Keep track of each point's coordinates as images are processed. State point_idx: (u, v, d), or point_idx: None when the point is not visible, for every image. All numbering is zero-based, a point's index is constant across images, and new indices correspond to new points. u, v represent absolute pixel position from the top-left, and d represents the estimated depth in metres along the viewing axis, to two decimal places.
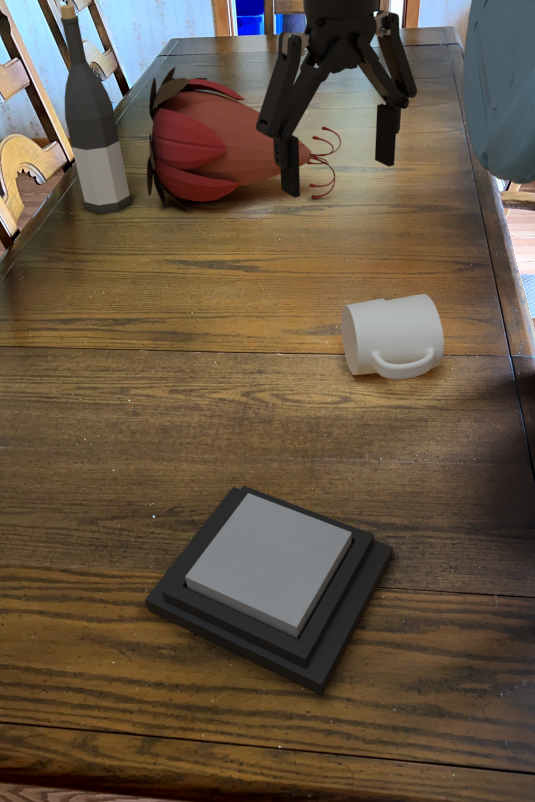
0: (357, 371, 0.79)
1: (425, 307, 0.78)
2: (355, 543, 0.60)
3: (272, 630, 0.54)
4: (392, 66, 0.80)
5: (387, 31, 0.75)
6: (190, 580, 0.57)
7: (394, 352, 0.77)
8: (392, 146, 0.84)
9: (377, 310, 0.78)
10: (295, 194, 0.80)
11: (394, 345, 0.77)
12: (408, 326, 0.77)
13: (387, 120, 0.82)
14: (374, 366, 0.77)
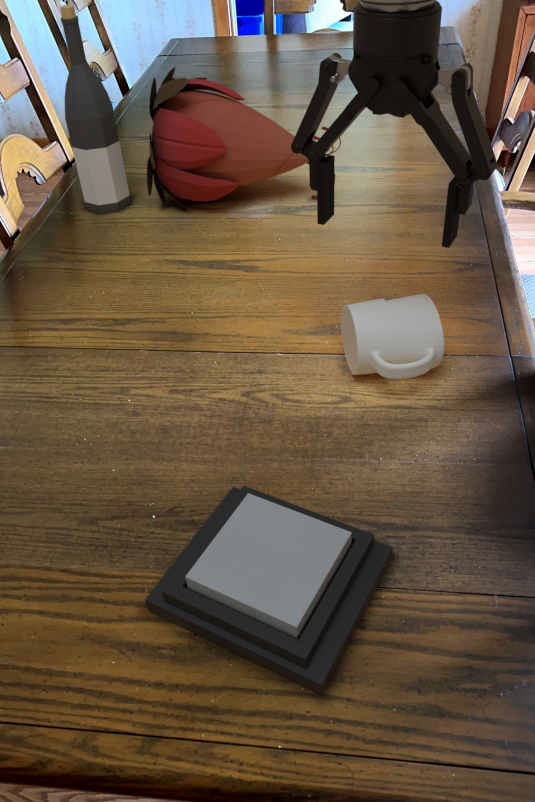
0: (357, 371, 0.79)
1: (425, 306, 0.78)
2: (355, 543, 0.60)
3: (272, 630, 0.54)
4: None
5: (447, 88, 0.62)
6: (190, 580, 0.57)
7: (394, 352, 0.77)
8: (447, 225, 0.69)
9: (377, 310, 0.78)
10: (318, 221, 0.76)
11: (394, 345, 0.77)
12: (408, 326, 0.77)
13: None
14: (374, 366, 0.77)
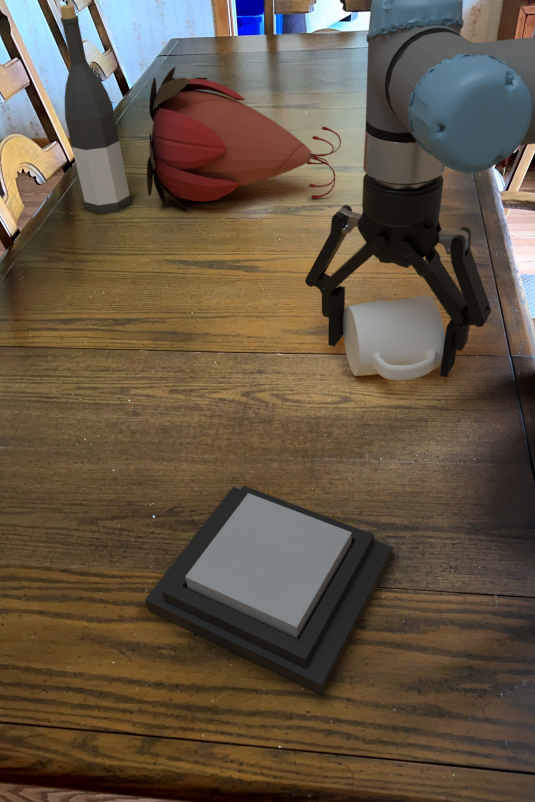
0: (358, 372, 0.79)
1: (427, 308, 0.78)
2: (355, 543, 0.60)
3: (272, 630, 0.54)
4: None
5: (447, 250, 0.69)
6: (190, 580, 0.57)
7: (396, 353, 0.77)
8: (445, 359, 0.76)
9: (379, 311, 0.77)
10: (329, 343, 0.83)
11: (396, 346, 0.76)
12: (410, 327, 0.76)
13: None
14: (375, 367, 0.77)
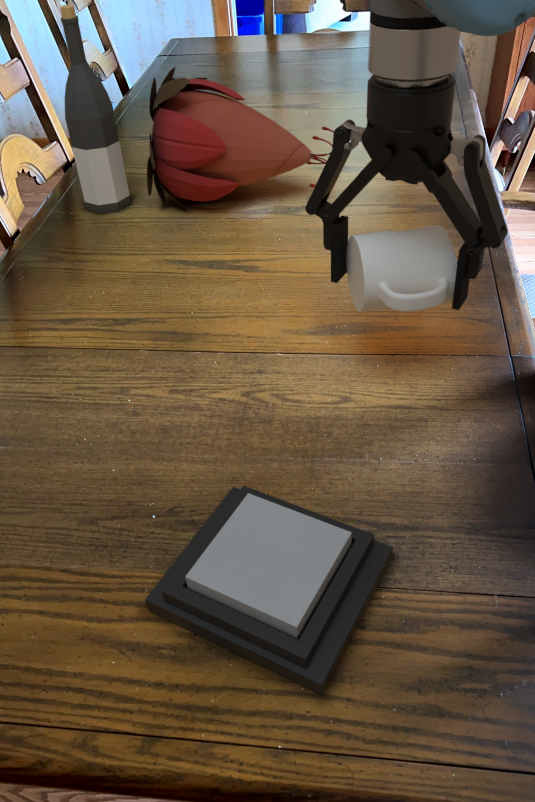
0: (363, 306, 0.73)
1: (437, 235, 0.72)
2: (355, 543, 0.60)
3: (272, 630, 0.54)
4: None
5: (459, 160, 0.63)
6: (190, 580, 0.57)
7: (404, 283, 0.71)
8: (457, 288, 0.70)
9: (386, 238, 0.72)
10: (331, 279, 0.77)
11: (404, 275, 0.70)
12: (419, 255, 0.70)
13: None
14: (382, 298, 0.71)
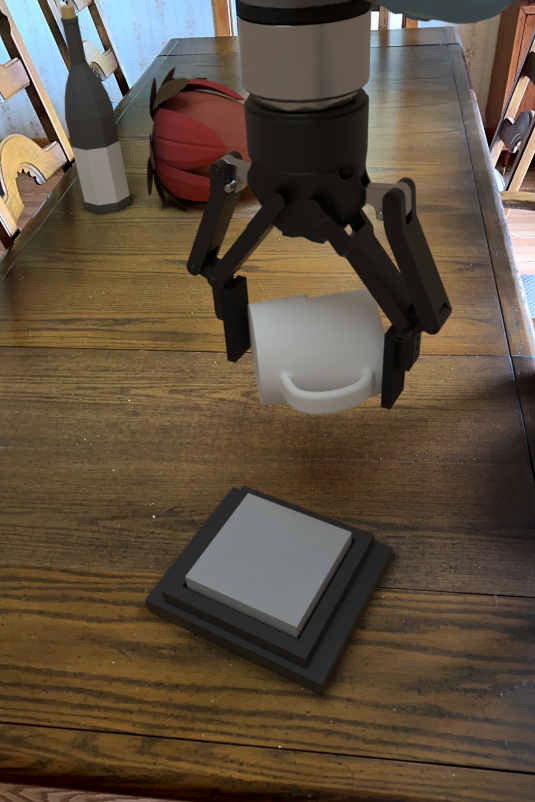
0: (262, 400, 0.54)
1: (362, 306, 0.53)
2: (355, 543, 0.60)
3: (272, 630, 0.54)
4: None
5: (377, 214, 0.44)
6: (190, 580, 0.57)
7: (313, 373, 0.52)
8: (386, 383, 0.51)
9: (291, 311, 0.52)
10: (228, 357, 0.58)
11: (313, 363, 0.51)
12: (334, 335, 0.51)
13: None
14: (284, 394, 0.52)
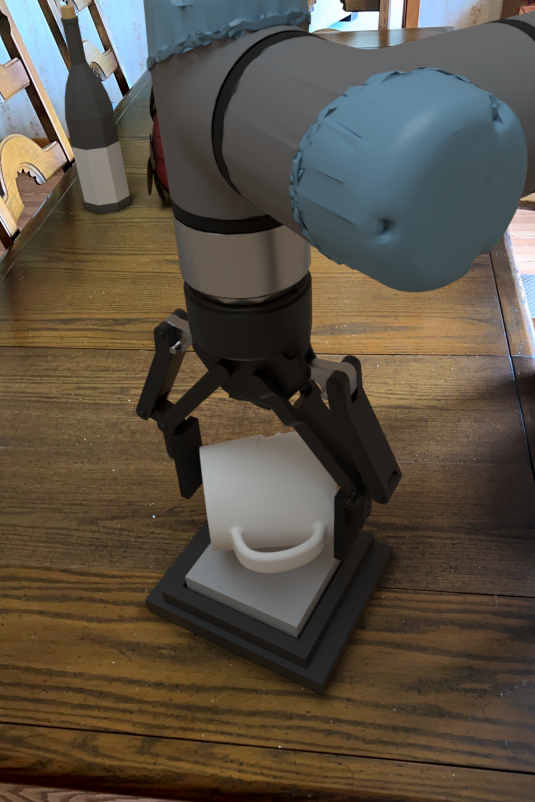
0: (214, 549, 0.53)
1: (314, 455, 0.52)
2: (355, 543, 0.60)
3: (272, 630, 0.54)
4: None
5: (321, 393, 0.43)
6: (190, 580, 0.57)
7: (264, 528, 0.51)
8: (338, 538, 0.50)
9: (241, 462, 0.51)
10: (182, 494, 0.57)
11: (264, 518, 0.50)
12: (285, 489, 0.50)
13: None
14: (234, 549, 0.51)
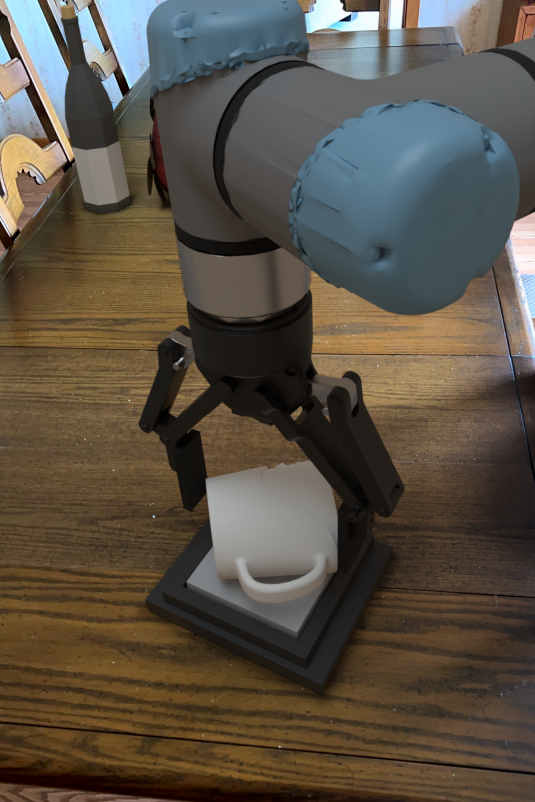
0: (219, 578, 0.55)
1: (316, 489, 0.54)
2: None
3: (272, 630, 0.54)
4: None
5: (323, 409, 0.43)
6: (191, 585, 0.57)
7: (268, 559, 0.53)
8: (341, 551, 0.51)
9: (246, 495, 0.53)
10: (184, 506, 0.57)
11: (268, 550, 0.52)
12: (288, 523, 0.52)
13: None
14: (239, 579, 0.53)
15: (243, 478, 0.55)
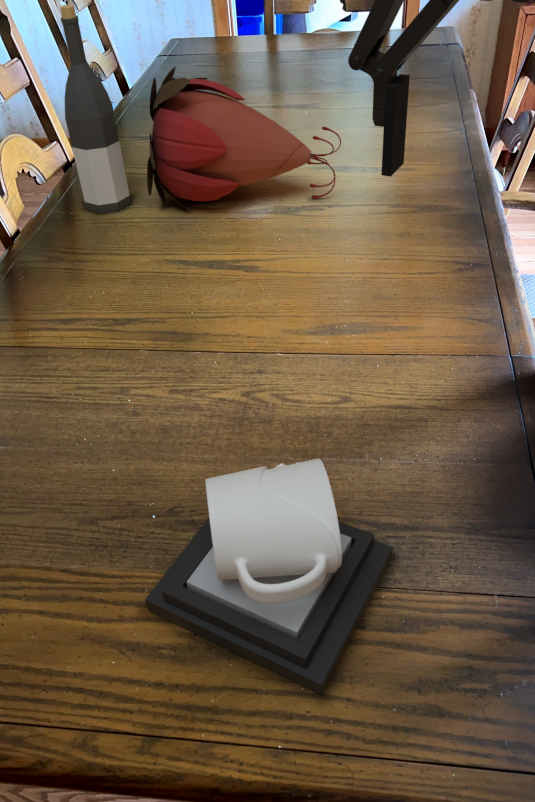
0: (219, 579, 0.55)
1: (316, 489, 0.54)
2: (355, 543, 0.60)
3: (272, 630, 0.54)
4: None
5: None
6: (191, 585, 0.57)
7: (268, 559, 0.53)
8: None
9: (246, 495, 0.53)
10: (383, 170, 0.54)
11: (267, 550, 0.52)
12: (288, 523, 0.52)
13: None
14: (239, 579, 0.53)
15: (243, 478, 0.55)
